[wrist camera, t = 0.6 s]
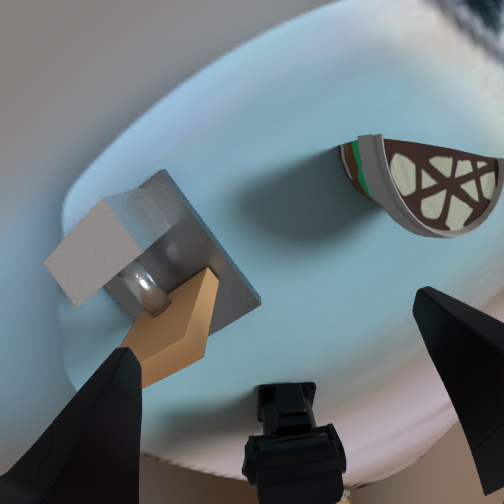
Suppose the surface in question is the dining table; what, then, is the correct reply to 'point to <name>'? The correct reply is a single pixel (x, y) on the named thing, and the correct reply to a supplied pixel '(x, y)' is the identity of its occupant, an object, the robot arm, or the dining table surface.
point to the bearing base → (148, 251)
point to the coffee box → (346, 498)
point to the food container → (425, 184)
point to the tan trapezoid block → (168, 321)
